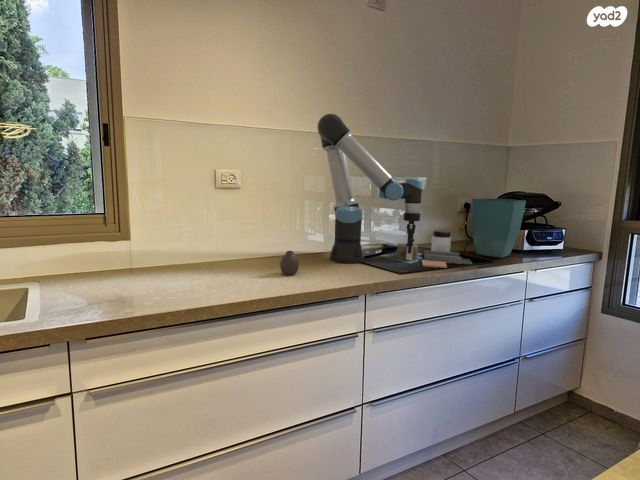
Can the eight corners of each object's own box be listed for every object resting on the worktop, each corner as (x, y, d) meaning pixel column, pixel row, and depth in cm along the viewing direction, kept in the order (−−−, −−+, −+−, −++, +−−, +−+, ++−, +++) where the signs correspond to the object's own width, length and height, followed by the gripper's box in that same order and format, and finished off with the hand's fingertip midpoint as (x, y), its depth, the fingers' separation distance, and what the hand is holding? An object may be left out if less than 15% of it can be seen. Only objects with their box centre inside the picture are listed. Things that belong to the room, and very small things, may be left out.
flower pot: (520, 255, 212) (526, 200, 208) (507, 260, 197) (514, 201, 193) (481, 250, 225) (486, 197, 221) (466, 254, 210) (471, 198, 206)
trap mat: (462, 264, 185) (462, 263, 185) (459, 259, 197) (459, 258, 197) (472, 264, 184) (472, 264, 184) (469, 259, 196) (469, 259, 196)
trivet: (422, 266, 178) (422, 264, 178) (422, 261, 188) (422, 260, 187) (446, 268, 176) (447, 266, 176) (445, 263, 185) (445, 261, 185)
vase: (277, 272, 157) (278, 250, 155) (294, 271, 159) (295, 249, 158) (283, 277, 150) (284, 253, 149) (301, 275, 153) (301, 252, 152)
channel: (424, 261, 189) (424, 254, 188) (423, 256, 200) (424, 250, 200) (461, 264, 185) (461, 257, 185) (458, 259, 197) (459, 252, 197)
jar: (443, 257, 199) (444, 232, 198) (428, 254, 205) (429, 230, 203) (452, 255, 206) (454, 231, 204) (437, 253, 211) (439, 229, 210)
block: (396, 258, 194) (397, 245, 193) (397, 256, 201) (398, 243, 200) (416, 260, 191) (417, 247, 191) (416, 257, 198) (417, 245, 197)
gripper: (420, 214, 180) (417, 263, 183) (420, 210, 204) (417, 253, 207) (403, 214, 182) (400, 261, 185) (404, 210, 206) (401, 252, 209)
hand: (409, 257), depth 196 cm, fingers open, 13 cm apart
